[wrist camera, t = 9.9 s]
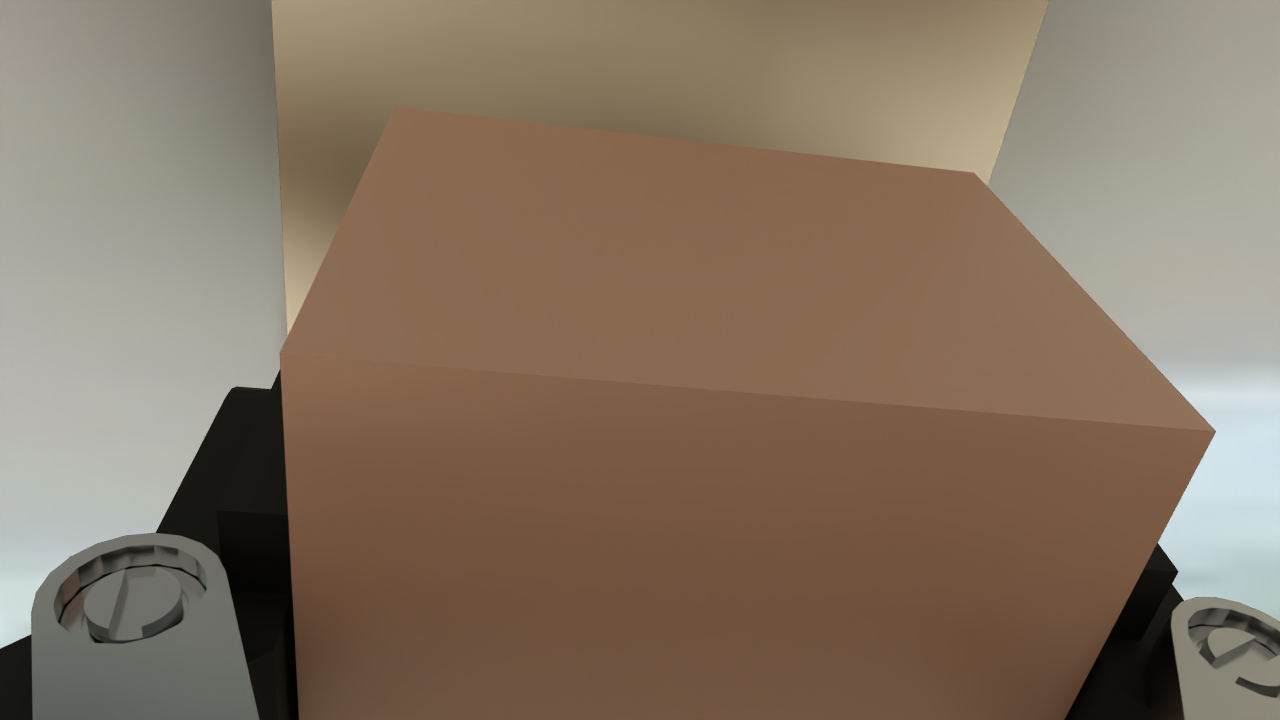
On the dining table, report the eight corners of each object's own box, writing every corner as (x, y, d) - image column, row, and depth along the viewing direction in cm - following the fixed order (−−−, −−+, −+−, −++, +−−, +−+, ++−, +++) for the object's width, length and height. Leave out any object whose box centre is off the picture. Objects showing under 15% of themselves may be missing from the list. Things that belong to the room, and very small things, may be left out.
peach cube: (394, 105, 11) (279, 353, 6) (974, 172, 11) (1215, 430, 7) (389, 562, 14) (310, 927, 10) (838, 589, 15) (950, 936, 10)
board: (284, -334, 13) (-153, -445, 5) (1068, -206, 15) (1680, -137, 7) (314, 496, 20) (150, 990, 12) (839, 531, 22) (998, 998, 14)
